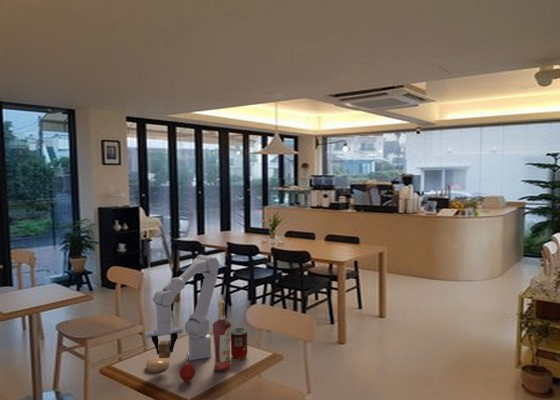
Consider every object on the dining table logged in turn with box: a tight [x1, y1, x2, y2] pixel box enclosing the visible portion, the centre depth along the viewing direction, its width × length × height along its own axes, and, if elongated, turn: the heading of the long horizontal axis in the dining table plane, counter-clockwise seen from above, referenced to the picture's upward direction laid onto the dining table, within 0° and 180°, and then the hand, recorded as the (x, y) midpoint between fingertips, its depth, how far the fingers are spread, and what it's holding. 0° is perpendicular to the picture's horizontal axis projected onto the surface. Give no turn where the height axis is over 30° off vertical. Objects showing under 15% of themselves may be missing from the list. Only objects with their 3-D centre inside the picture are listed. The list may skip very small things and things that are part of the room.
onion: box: [179, 361, 196, 383], centre depth 156 cm, size 6×6×8 cm
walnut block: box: [158, 340, 172, 359], centre depth 165 cm, size 4×4×6 cm
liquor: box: [212, 300, 232, 372], centre depth 166 cm, size 7×7×28 cm
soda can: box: [230, 327, 248, 361], centre depth 177 cm, size 7×7×12 cm
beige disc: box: [145, 355, 170, 373], centre depth 169 cm, size 9×9×2 cm
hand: (164, 352), depth 166 cm, fingers closed on walnut block, 5 cm apart
